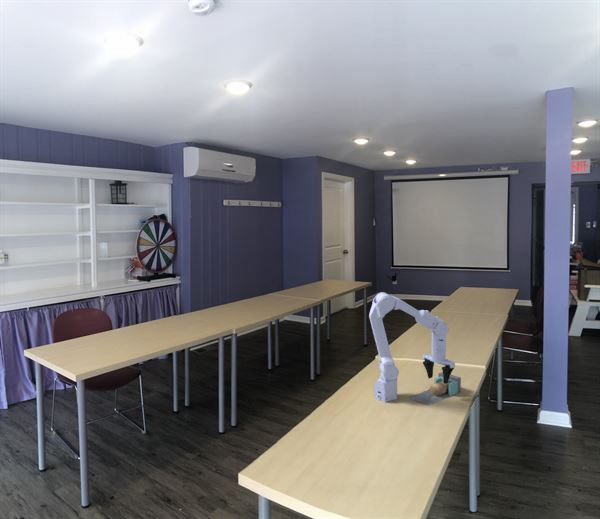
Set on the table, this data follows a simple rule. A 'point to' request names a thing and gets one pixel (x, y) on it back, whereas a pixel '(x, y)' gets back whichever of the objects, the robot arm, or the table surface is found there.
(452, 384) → the teal arch
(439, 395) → the board
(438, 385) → the dowel
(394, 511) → the table surface
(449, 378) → the backstop wall
